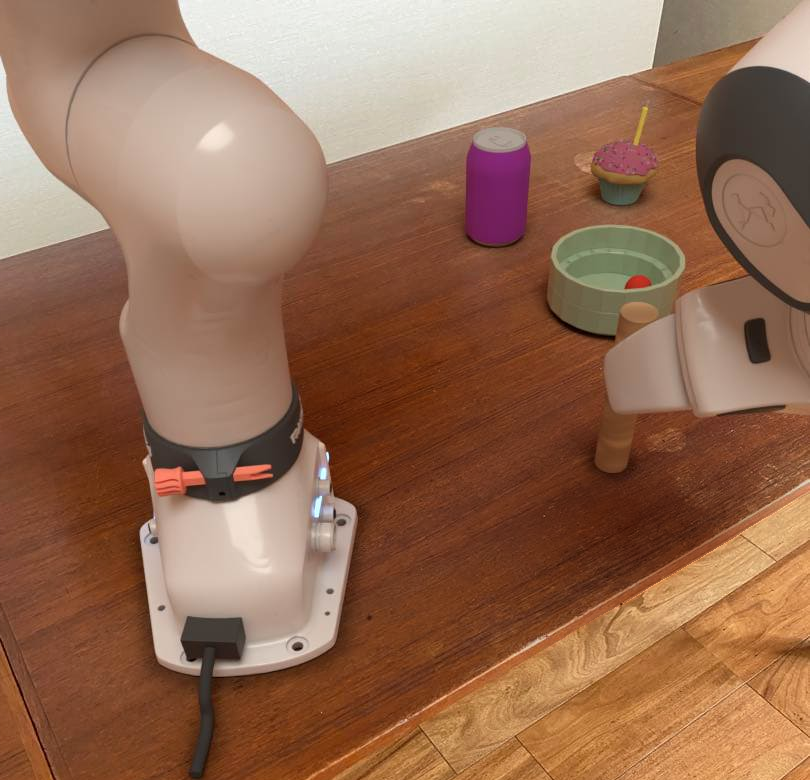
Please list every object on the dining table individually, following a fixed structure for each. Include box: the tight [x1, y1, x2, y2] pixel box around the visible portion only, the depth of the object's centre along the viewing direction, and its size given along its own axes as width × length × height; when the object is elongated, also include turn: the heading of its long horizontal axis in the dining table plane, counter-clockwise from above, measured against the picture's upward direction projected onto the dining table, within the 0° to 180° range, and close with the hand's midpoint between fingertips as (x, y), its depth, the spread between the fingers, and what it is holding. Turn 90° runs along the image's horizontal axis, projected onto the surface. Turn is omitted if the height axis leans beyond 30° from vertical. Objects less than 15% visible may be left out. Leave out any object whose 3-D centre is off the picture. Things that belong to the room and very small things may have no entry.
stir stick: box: [593, 302, 659, 474], centre depth 74 cm, size 3×3×16 cm
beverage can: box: [464, 126, 532, 248], centre depth 105 cm, size 8×8×12 cm
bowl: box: [546, 224, 686, 337], centre depth 96 cm, size 14×14×6 cm
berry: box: [624, 275, 652, 289], centre depth 96 cm, size 3×3×3 cm
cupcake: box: [590, 100, 659, 206], centre depth 111 cm, size 9×8×12 cm
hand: (717, 373), depth 58 cm, fingers open, 8 cm apart
